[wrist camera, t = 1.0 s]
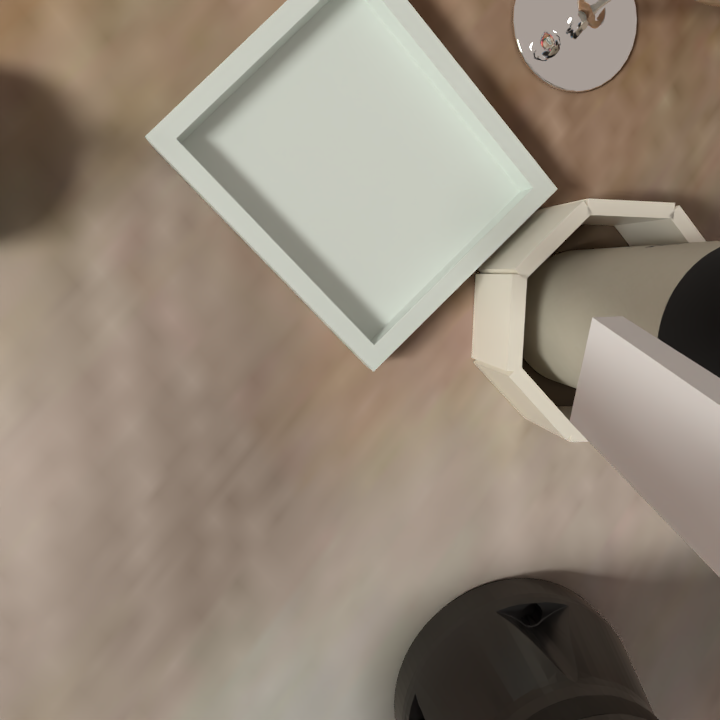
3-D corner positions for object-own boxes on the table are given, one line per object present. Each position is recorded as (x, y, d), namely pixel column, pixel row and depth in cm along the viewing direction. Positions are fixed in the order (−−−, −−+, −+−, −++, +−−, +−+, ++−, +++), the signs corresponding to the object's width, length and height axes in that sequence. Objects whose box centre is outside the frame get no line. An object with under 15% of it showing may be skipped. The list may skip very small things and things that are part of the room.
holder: (701, 318, 38) (768, 324, 34) (562, 459, 38) (609, 487, 33) (583, 164, 36) (636, 147, 31) (430, 315, 35) (460, 322, 30)
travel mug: (587, 405, 38) (881, 519, 20) (486, 340, 36) (714, 405, 19) (654, 294, 38) (1011, 314, 20) (556, 224, 36) (854, 178, 18)
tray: (536, 194, 35) (557, 188, 33) (364, 364, 35) (373, 371, 32) (347, -40, 32) (355, -65, 29) (152, 147, 31) (144, 136, 29)
